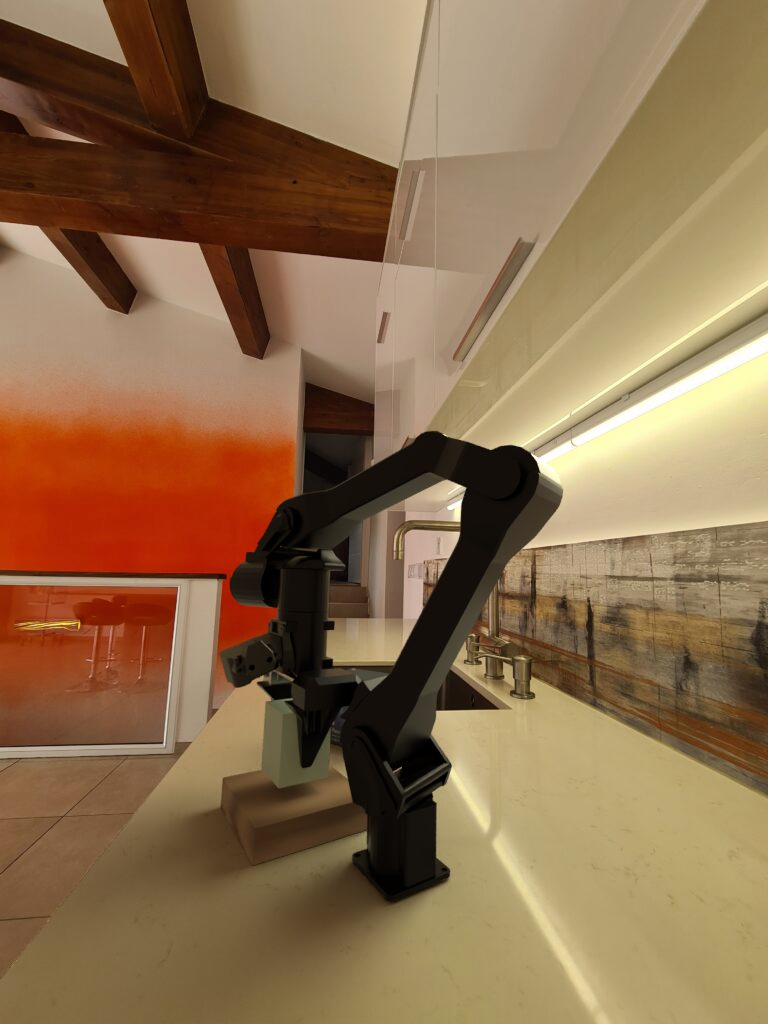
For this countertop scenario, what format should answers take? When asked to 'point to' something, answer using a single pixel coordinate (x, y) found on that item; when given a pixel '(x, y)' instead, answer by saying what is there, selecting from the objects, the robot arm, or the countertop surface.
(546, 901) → the countertop surface
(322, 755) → the sage block
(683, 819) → the countertop surface
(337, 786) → the walnut block
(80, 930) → the countertop surface
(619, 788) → the countertop surface
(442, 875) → the robot arm
